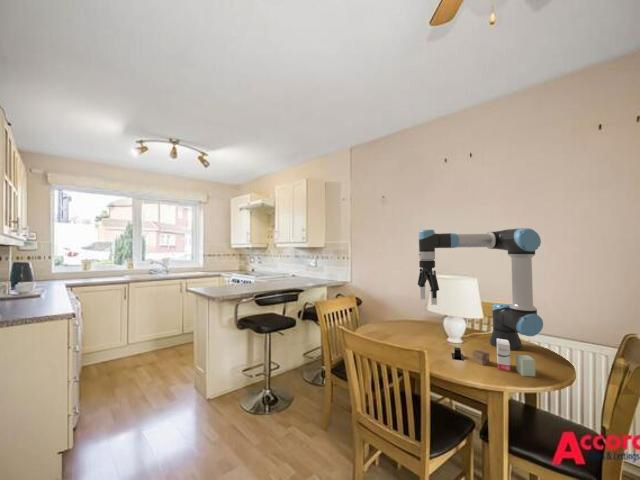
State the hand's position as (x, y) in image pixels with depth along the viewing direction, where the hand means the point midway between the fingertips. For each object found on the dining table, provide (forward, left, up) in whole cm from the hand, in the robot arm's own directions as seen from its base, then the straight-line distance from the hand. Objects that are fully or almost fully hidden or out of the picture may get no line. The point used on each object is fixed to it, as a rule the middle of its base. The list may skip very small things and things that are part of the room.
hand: (428, 301), depth 145 cm
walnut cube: (-22, +8, -28) cm, 37 cm away
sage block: (-34, +21, -28) cm, 49 cm away
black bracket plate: (-15, 0, -29) cm, 32 cm away
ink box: (-29, +14, -28) cm, 43 cm away
